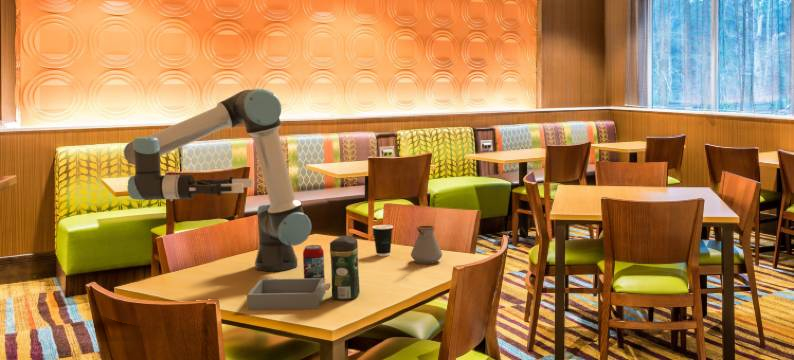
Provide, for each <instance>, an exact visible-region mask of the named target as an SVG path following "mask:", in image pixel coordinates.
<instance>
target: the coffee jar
mask: <svg viewBox="0 0 794 360" xmlns="http://www.w3.org/2000/svg"><path fill="white" fill-rule="evenodd" d="M358 251H359V244H358V239H357V238H356V237H354V235H340V236H339V237H337V238H335V239H333V240H332V241H330V242H329V255H330V265H331V266H330V269H331V270H330V272H331V273H330V274H331V297H332V299H333V300H337V301H347V300H348V301H350V300H354V299H356V298H357V297H359V294H360V276H359V252H358Z"/></svg>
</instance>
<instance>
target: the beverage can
mask: <svg viewBox="0 0 794 360" xmlns="http://www.w3.org/2000/svg"><path fill="white" fill-rule="evenodd" d="M324 255H325V254H324V249H323V248H322V245H319V244H310V245H306V246H304V249H303V251H302V258H303V259H302V263H303V279H305V278H325V256H324Z"/></svg>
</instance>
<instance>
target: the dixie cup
mask: <svg viewBox="0 0 794 360" xmlns="http://www.w3.org/2000/svg"><path fill="white" fill-rule="evenodd" d="M371 228H372V230H373V238H374V247H375V252H376V256H378V255H379V257H389V256H390V253H391V249H392V248H391V247H392V235H393V228H394V226H393V225H391V224H379V225H373V226H371ZM388 255H389V256H388Z"/></svg>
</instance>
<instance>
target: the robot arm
mask: <svg viewBox="0 0 794 360" xmlns="http://www.w3.org/2000/svg"><path fill="white" fill-rule="evenodd" d="M281 115H282V103H281V101H280V99H279V98H278V96H277V95H276V93H274V92H272V91H270V90H267V89H264V88H256V89H255V88H254V89H244V90H242V91H239V92H238V93H235V94H233V95H232V96H230V97H228V98H226V99H224V100H222V101H219V102H218V103H216V106H214V107H213V108H211V109H209V110H206V111H203V112H202V113H200V114H197V115H195V116H193V117H190V118H187V119H184V120H183V121H181V122H178V123H176V124H173V125H171V126H169V127H166V128H164V129H162V130H160V131H156V132H155V133H152V134H150V135H148V136H139V137H135V138H134V139H133V140H132V141H130V142H129V143H127V144H126V145H125V146H124V149H123V157H124V158H125V160H126V161H127V162H128V163H129V164H130V165H133V166H134V172H135V173H134V175H131V176H130V177H129V178H128V181H127V194H128V196H129V197H130V198H131V199H132V200H141V201H150V200H152V201H153V200H154V201H155V200H169V201H170V202H173V201H174V200H179V199H181V200H191V199H194V197H195V195H196V194H197V195H198V194H200V195H201V194H205V195H216V196H217V197H219V196H222V195H221V194H243V193H244V188H254V178H234V176H229V178H221V179H199V180H197V181H195V177H194V175H193V174H180V175H179V174H165V175H163V174H161V172H162V170H161V156H164V155H166V154H168V153H170V152H173V151H175V150H178V149H180V148H182V147H184V146H186V145H188V144H192V143H194V142H196V141H199V140H200V139H203V138H205V137H207V136H209V135H211V134H214V133H216V132H218V131H221V130H223V129H225V128H226V129H232V128H236V127H238V126H242V125H244V127H245V130H246V134H247V135H249V136H250V137H251V138H252V139H253V143H254V147H255V150H256V154H257V158H258V162H259V166H260V170H261V173H262V177H263V180H264V181H263V182H264V185H265V188H266V191H267V196H268V200H269V203H270V204H262V205H259V206H258V207H257V214H256V215H257V227H258V229H257V230H258V231H257V232H258V250H257V254H256V257H255V261H254V266H255V267H254V268H255V270H257V271H262V272H263V271H264V272H280V271H281V272H282V271H287V270H292V269H295V268H297V267H298V257H297V255H296V251H295V250H294V246H298V245H302V244H303V243H304V242H306V241H307V240H308V238H309V236H310V234H311V231H312V222H311V220H310V218H309V217H308V215H307V214H305V213H304V212H305V211H304V210H303V205H302V201H300V200H298V199H297V198H296V196H295V191H294V187H293V184H292V181H291V176H290V173H289V169H288V164H287V161H286V157H285V153H284V149H283V146H282V142H281V138H280V133H279V130H280V128H281V127H282V123H281V119H280V116H281Z"/></svg>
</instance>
